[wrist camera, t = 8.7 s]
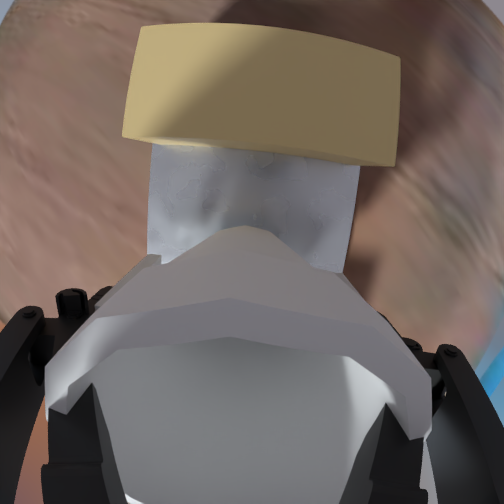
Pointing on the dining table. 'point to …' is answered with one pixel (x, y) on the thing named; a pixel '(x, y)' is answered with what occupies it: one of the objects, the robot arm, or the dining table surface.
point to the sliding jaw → (264, 92)
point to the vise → (250, 200)
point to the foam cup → (239, 376)
